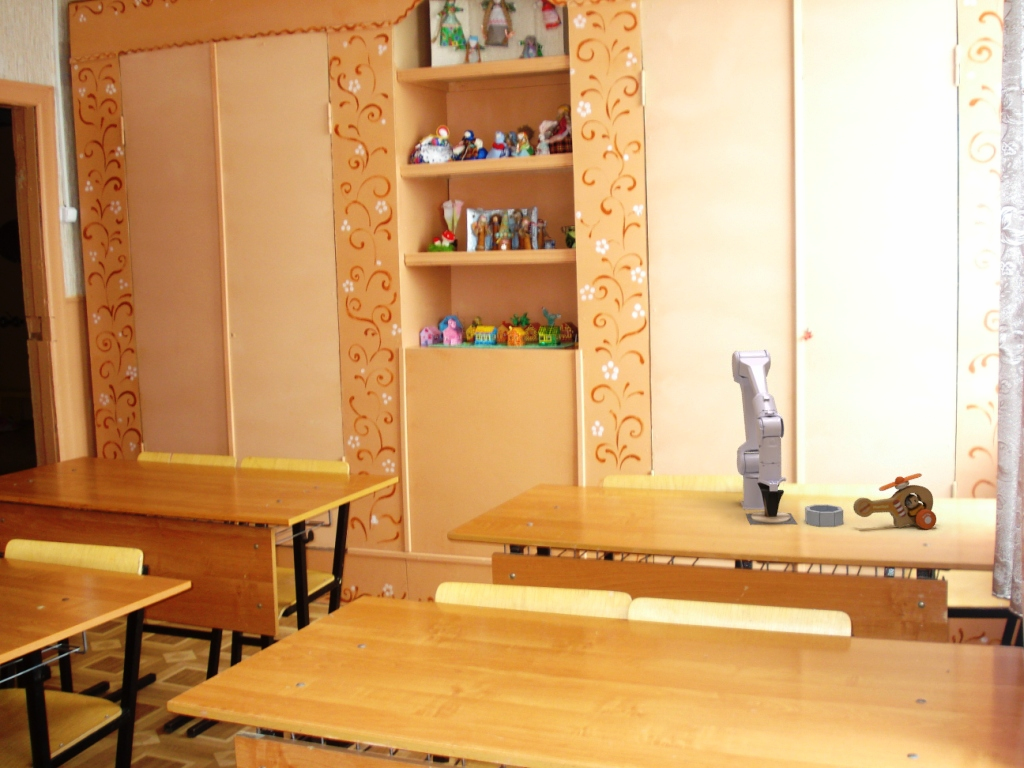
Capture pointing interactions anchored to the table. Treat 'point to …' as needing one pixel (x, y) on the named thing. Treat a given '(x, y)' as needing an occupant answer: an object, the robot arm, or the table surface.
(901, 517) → the toy helicopter
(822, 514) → the bowl
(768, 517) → the lid
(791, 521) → the mat
